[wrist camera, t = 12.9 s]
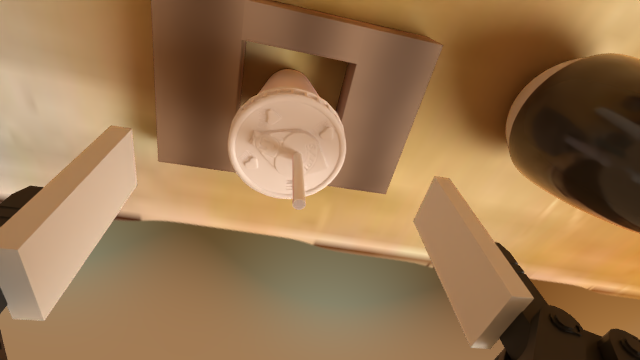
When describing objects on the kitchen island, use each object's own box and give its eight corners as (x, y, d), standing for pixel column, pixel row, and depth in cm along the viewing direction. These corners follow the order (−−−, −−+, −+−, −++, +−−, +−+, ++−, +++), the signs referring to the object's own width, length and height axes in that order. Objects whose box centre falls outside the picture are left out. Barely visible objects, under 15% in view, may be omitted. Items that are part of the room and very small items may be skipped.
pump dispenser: (517, 181, 32) (666, 324, 19) (463, 106, 27) (611, 228, 15) (627, 109, 29) (896, 226, 16) (587, 11, 24) (916, 63, 11)
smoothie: (308, 142, 28) (320, 269, 17) (234, 112, 26) (190, 230, 15) (344, 73, 25) (390, 167, 14) (265, 33, 23) (239, 102, 12)
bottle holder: (170, 143, 27) (158, 161, 25) (166, -24, 21) (150, -23, 19) (378, 175, 31) (385, 194, 28) (427, 37, 24) (443, 45, 22)
